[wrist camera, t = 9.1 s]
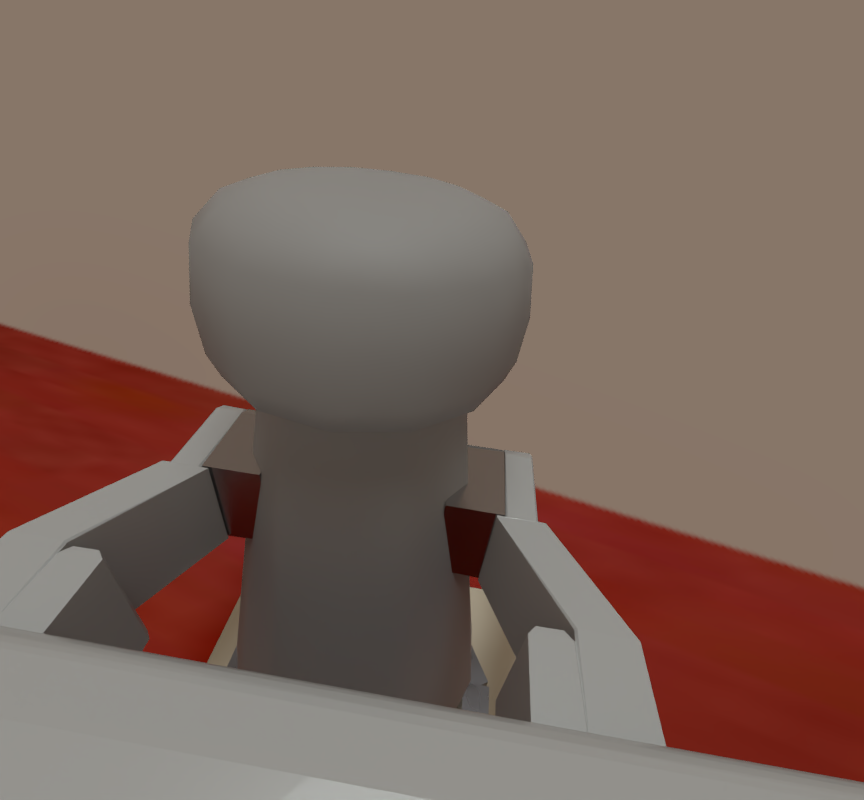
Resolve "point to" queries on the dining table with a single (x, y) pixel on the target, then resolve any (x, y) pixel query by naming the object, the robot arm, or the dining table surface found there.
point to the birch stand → (484, 641)
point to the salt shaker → (358, 409)
